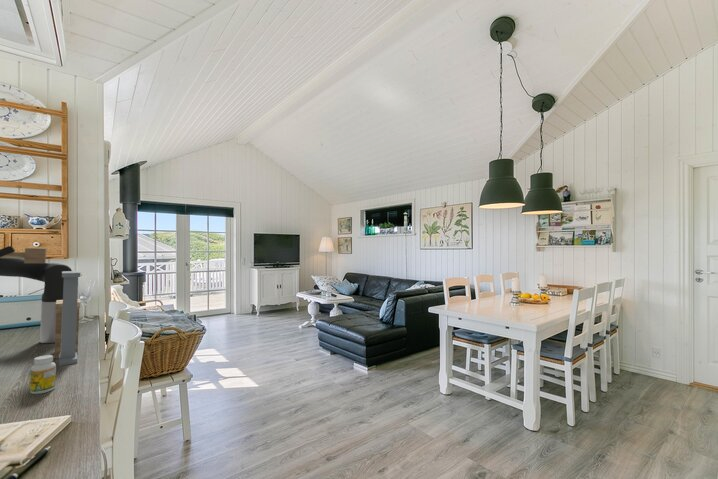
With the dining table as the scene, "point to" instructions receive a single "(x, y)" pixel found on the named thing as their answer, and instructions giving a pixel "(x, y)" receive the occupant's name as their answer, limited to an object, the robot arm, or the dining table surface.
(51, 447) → the dining table surface
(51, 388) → the supplement bottle
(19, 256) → the mallet
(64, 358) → the stand
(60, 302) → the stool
